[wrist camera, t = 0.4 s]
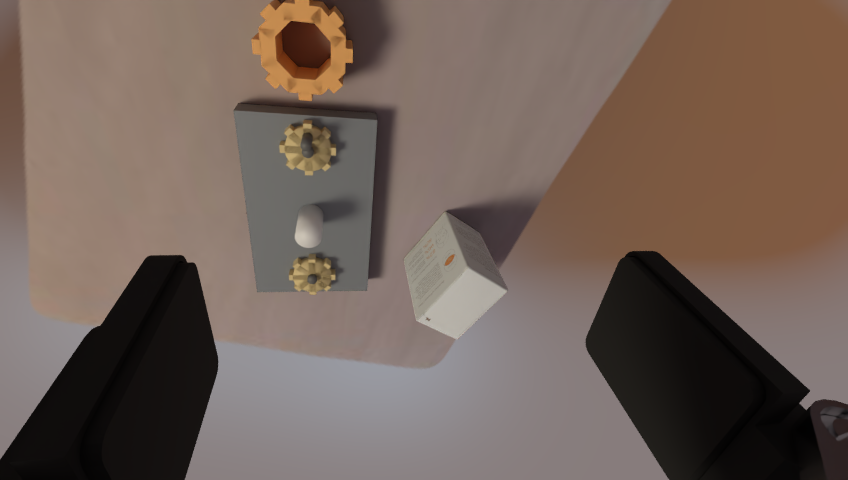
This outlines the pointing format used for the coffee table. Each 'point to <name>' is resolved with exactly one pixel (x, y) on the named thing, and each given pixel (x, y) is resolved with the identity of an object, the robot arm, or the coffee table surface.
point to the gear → (282, 67)
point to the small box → (452, 277)
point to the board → (307, 195)
